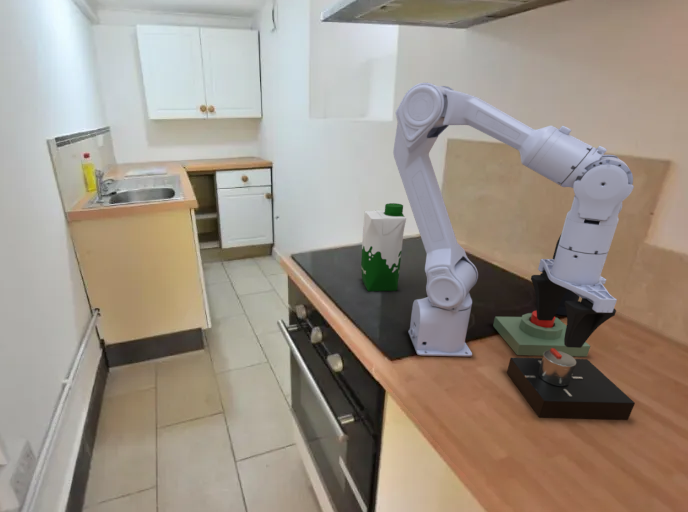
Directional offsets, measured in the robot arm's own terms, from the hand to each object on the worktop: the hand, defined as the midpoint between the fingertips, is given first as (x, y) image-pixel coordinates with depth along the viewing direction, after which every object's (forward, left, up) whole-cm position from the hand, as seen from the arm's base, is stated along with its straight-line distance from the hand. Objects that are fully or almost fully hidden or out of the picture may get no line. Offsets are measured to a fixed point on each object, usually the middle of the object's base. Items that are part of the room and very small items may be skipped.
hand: (557, 332), depth 58 cm
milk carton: (-22, +35, -8) cm, 42 cm away
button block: (+4, +11, -8) cm, 14 cm away
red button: (+4, +11, -5) cm, 13 cm away
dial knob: (-2, -4, -5) cm, 7 cm away
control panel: (0, -4, -8) cm, 9 cm away
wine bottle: (+15, +24, -8) cm, 30 cm away
